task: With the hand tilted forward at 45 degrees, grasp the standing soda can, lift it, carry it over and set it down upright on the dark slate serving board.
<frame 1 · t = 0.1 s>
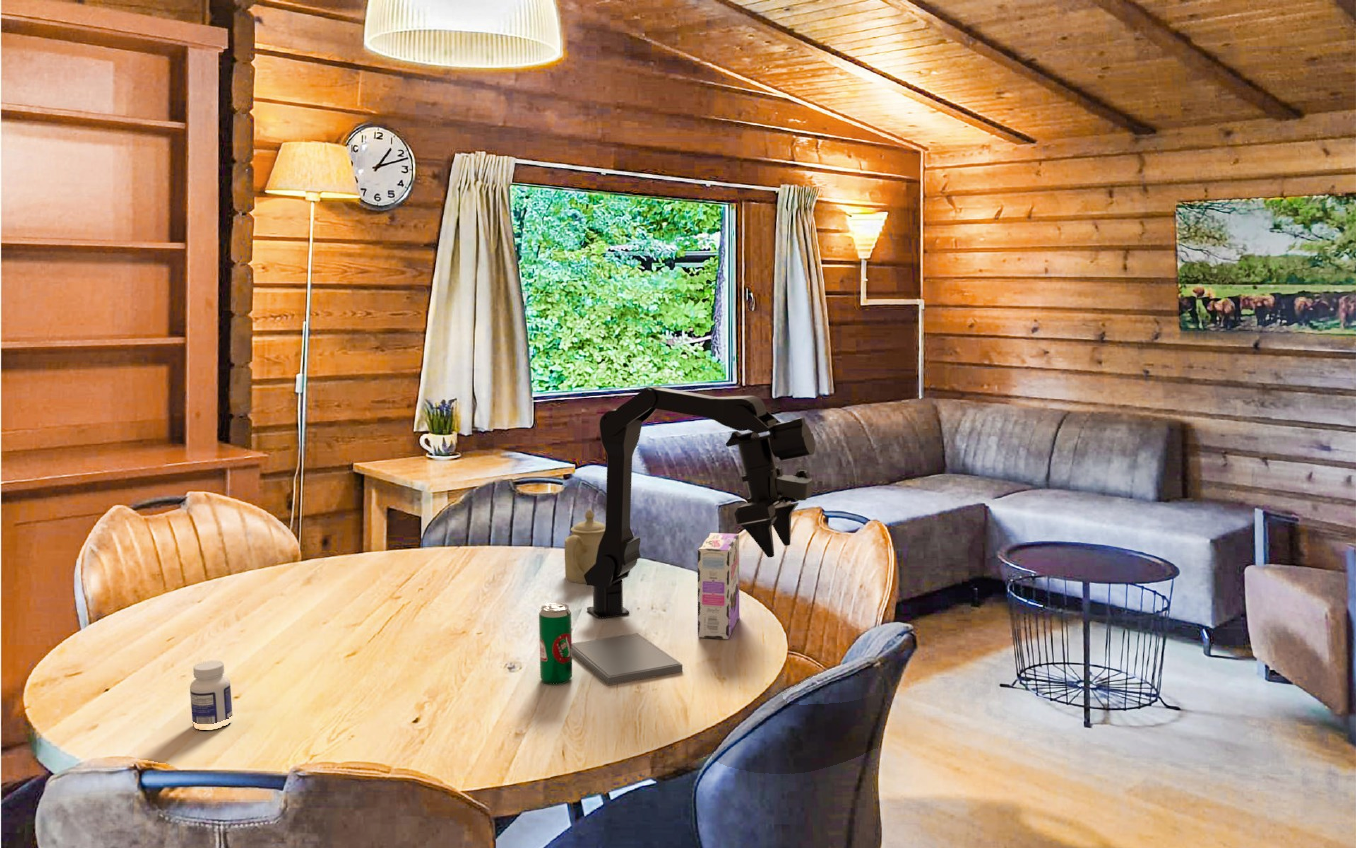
hand: (779, 551, 186), 15 cm above the table, fingers open, 9 cm apart
soda can: (556, 681, 167), on the table
pill bottle: (212, 725, 150), on the table
candy box: (719, 628, 193), on the table
sugar bowl: (591, 580, 226), on the table
slate board: (623, 660, 176), on the table
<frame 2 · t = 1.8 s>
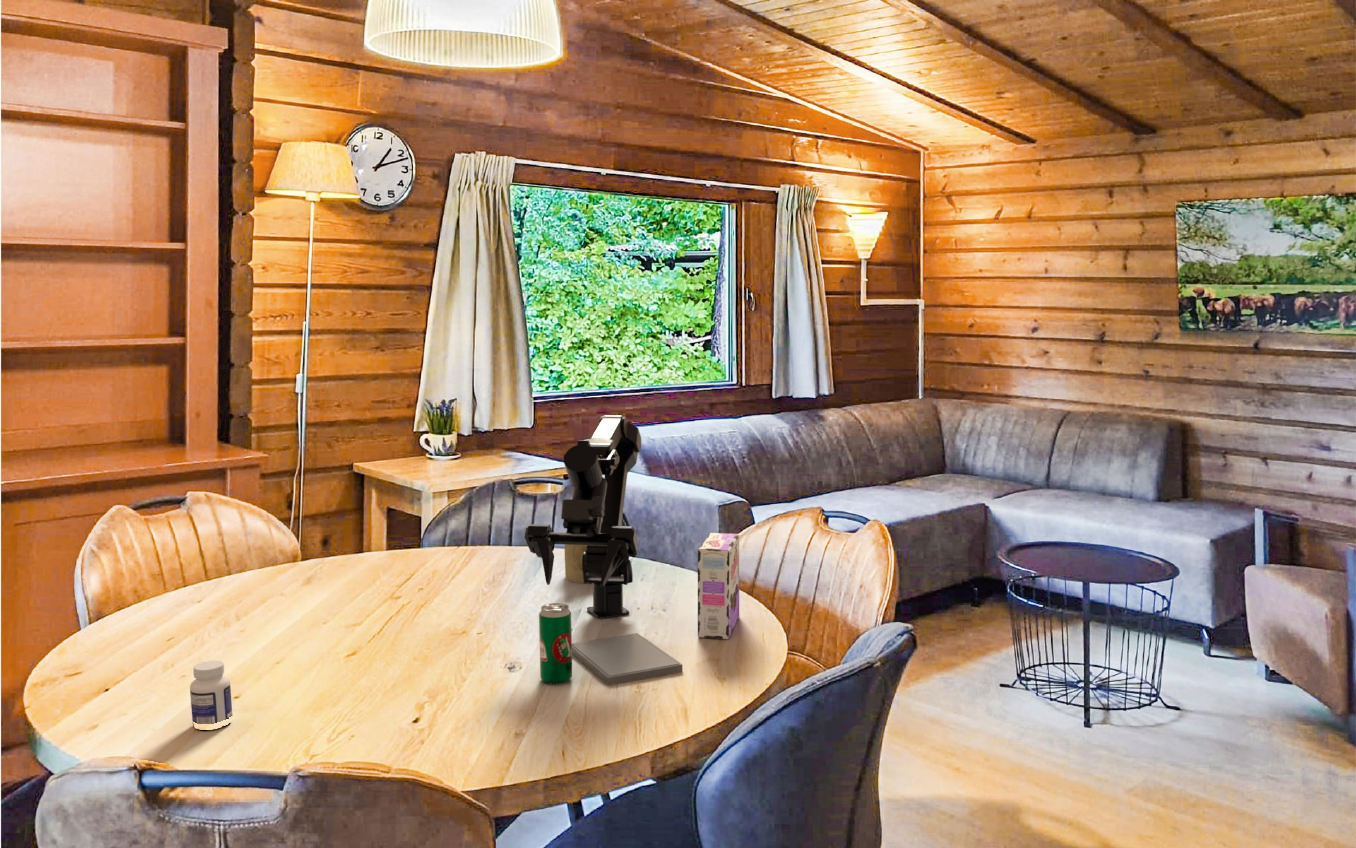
hand: (574, 584, 173), 13 cm above the table, fingers open, 9 cm apart
nothing on the table moved.
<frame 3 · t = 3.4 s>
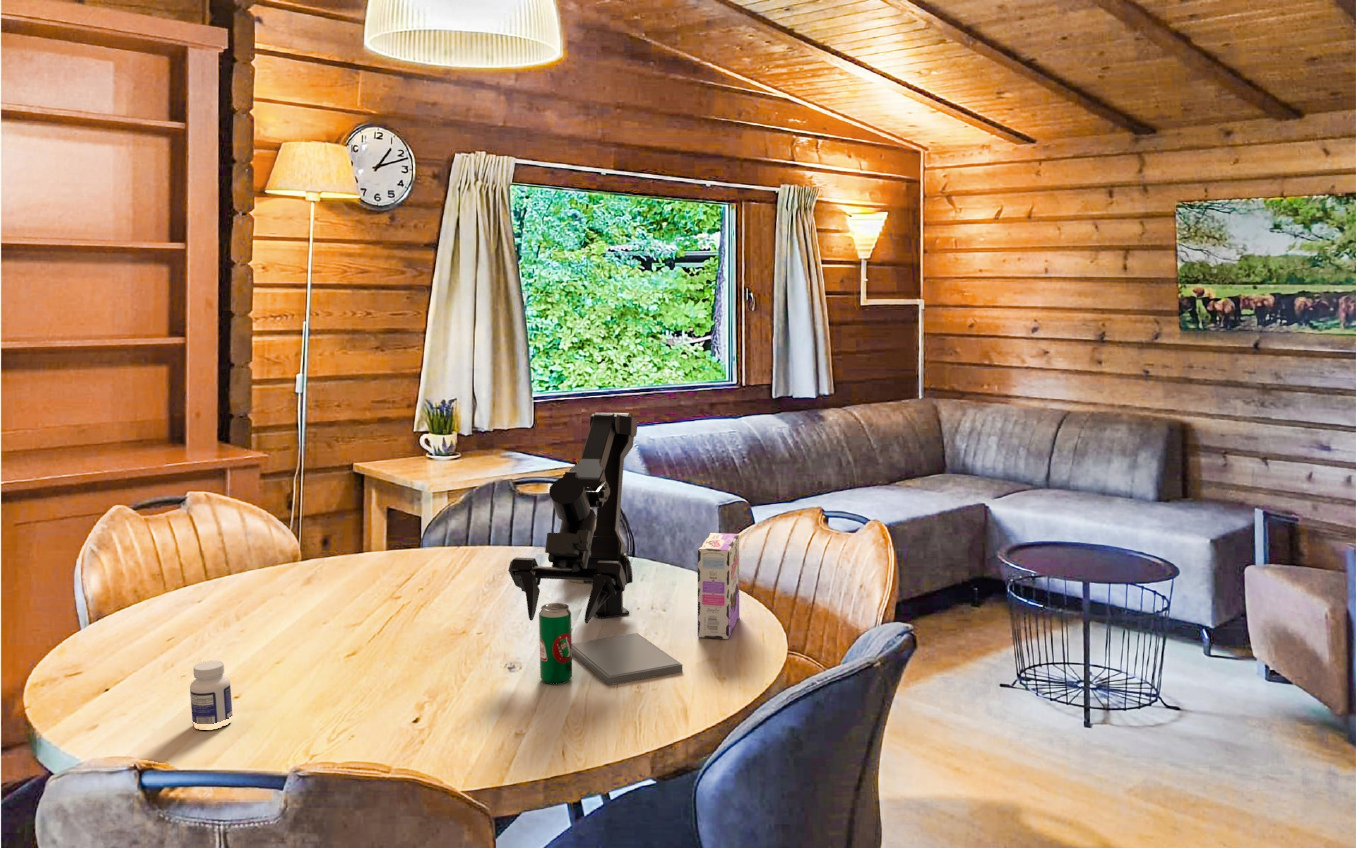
hand: (558, 620, 168), 9 cm above the table, fingers open, 9 cm apart
nothing on the table moved.
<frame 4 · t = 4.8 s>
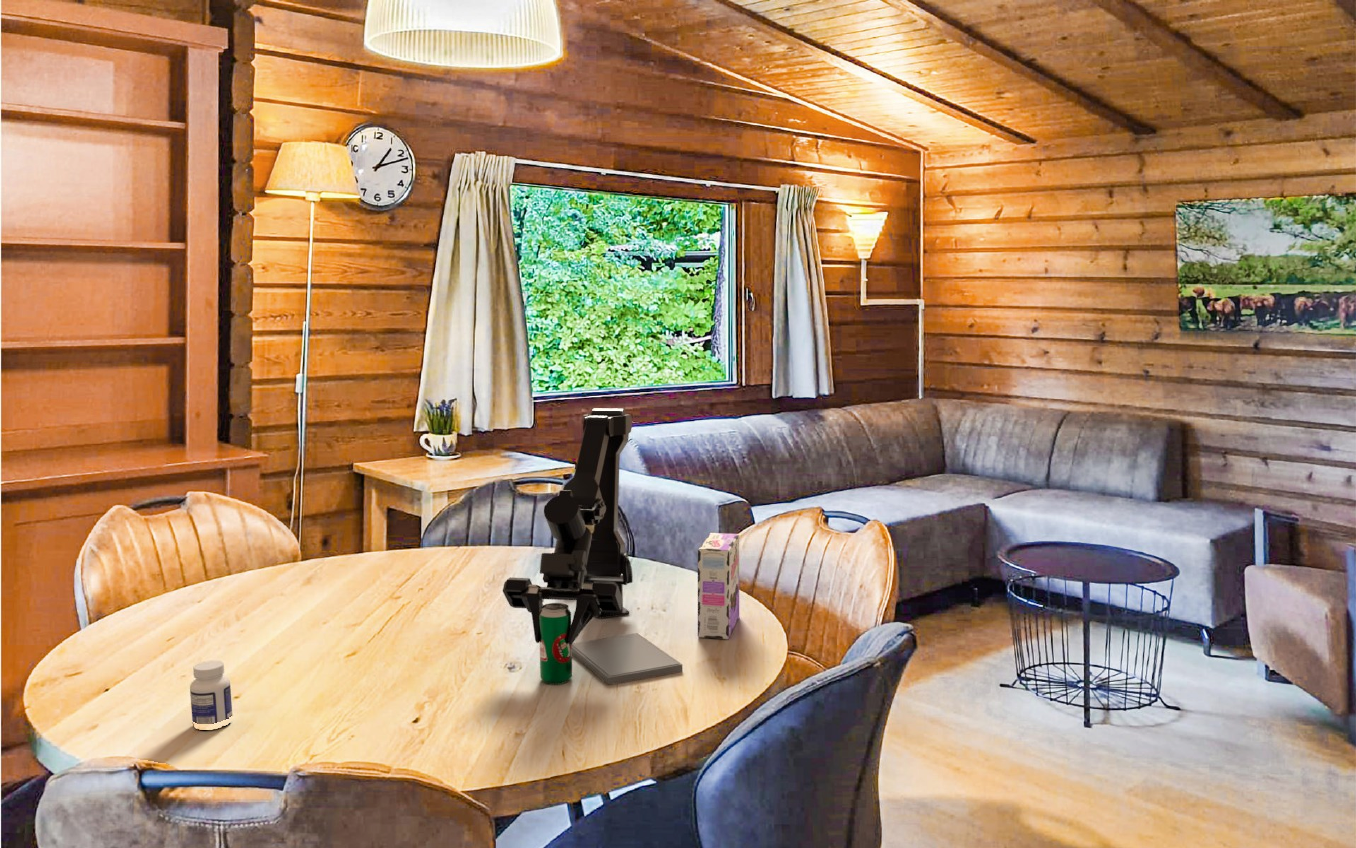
hand: (553, 642, 165), 7 cm above the table, fingers closed on soda can, 5 cm apart
soda can: (556, 680, 167), on the table, touching gripper
everything else where it was.
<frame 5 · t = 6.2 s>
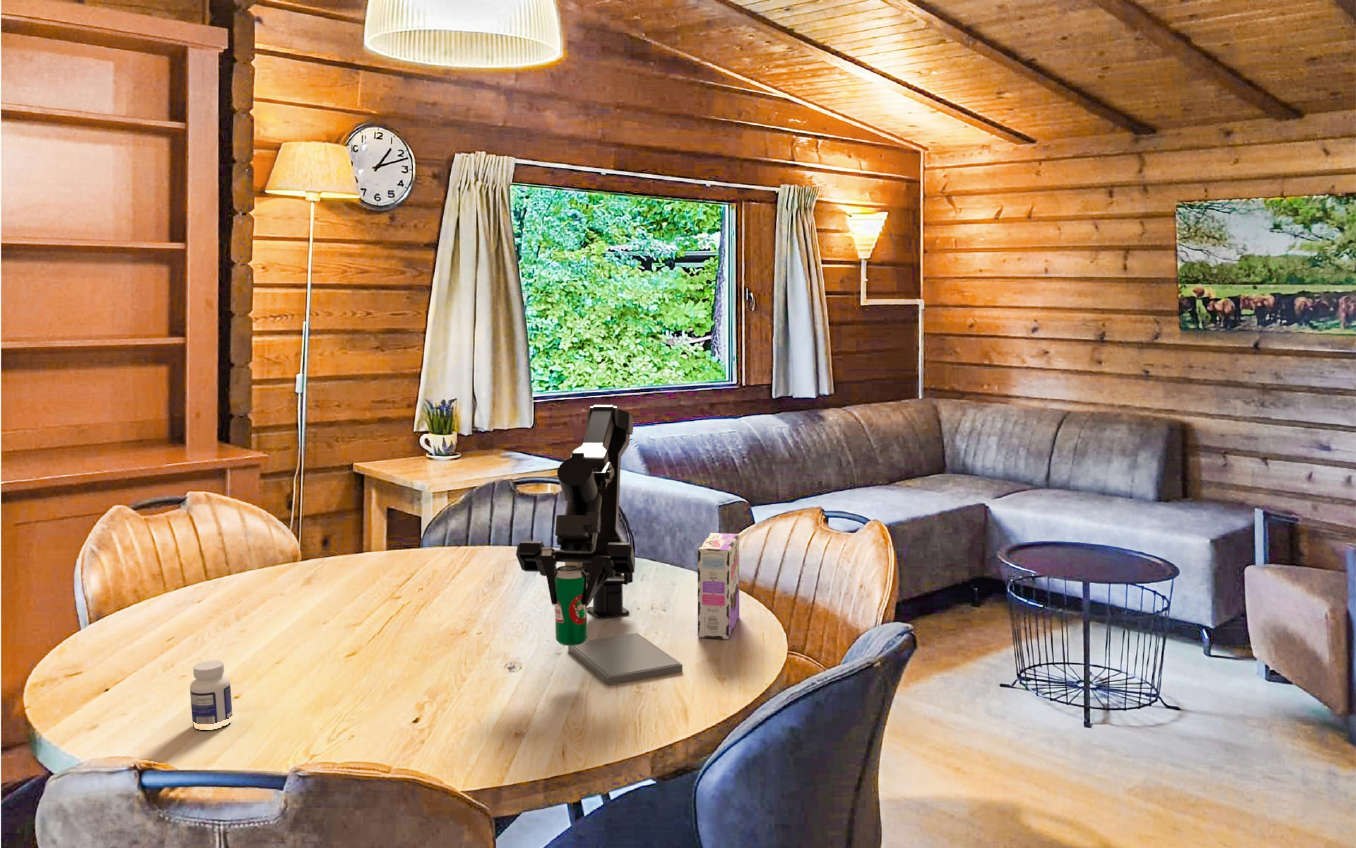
hand: (569, 604, 165), 13 cm above the table, fingers closed on soda can, 5 cm apart
soda can: (571, 642, 167), point 6 cm above the table, touching gripper
everything else where it was.
when the fingers open (9 cm above the table, at t = 7.9 s): soda can stays where it is, resting on slate board.
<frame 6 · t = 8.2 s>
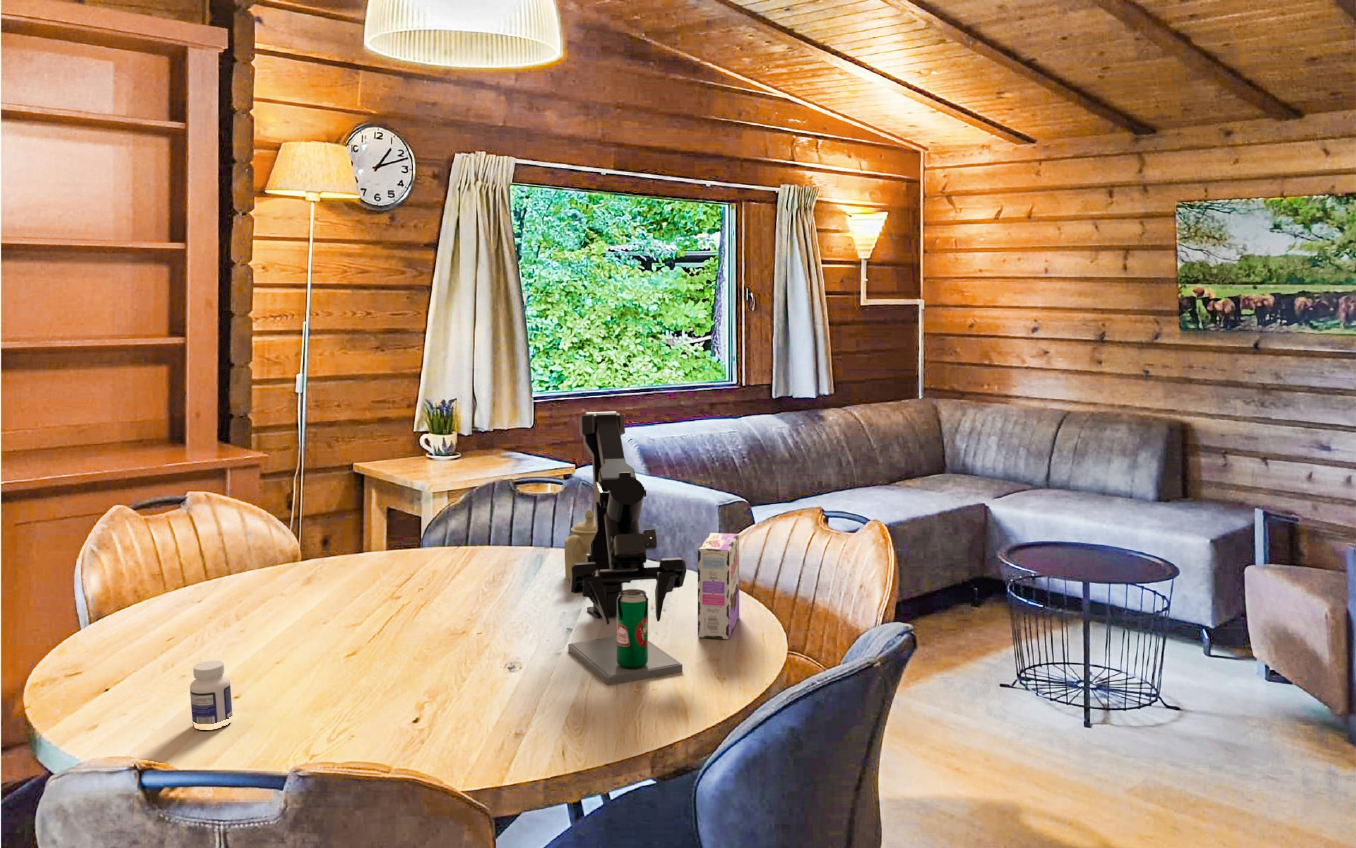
hand: (633, 621, 167), 9 cm above the table, fingers open, 8 cm apart
soda can: (632, 666, 170), point 1 cm above the table, touching slate board
everything else where it was.
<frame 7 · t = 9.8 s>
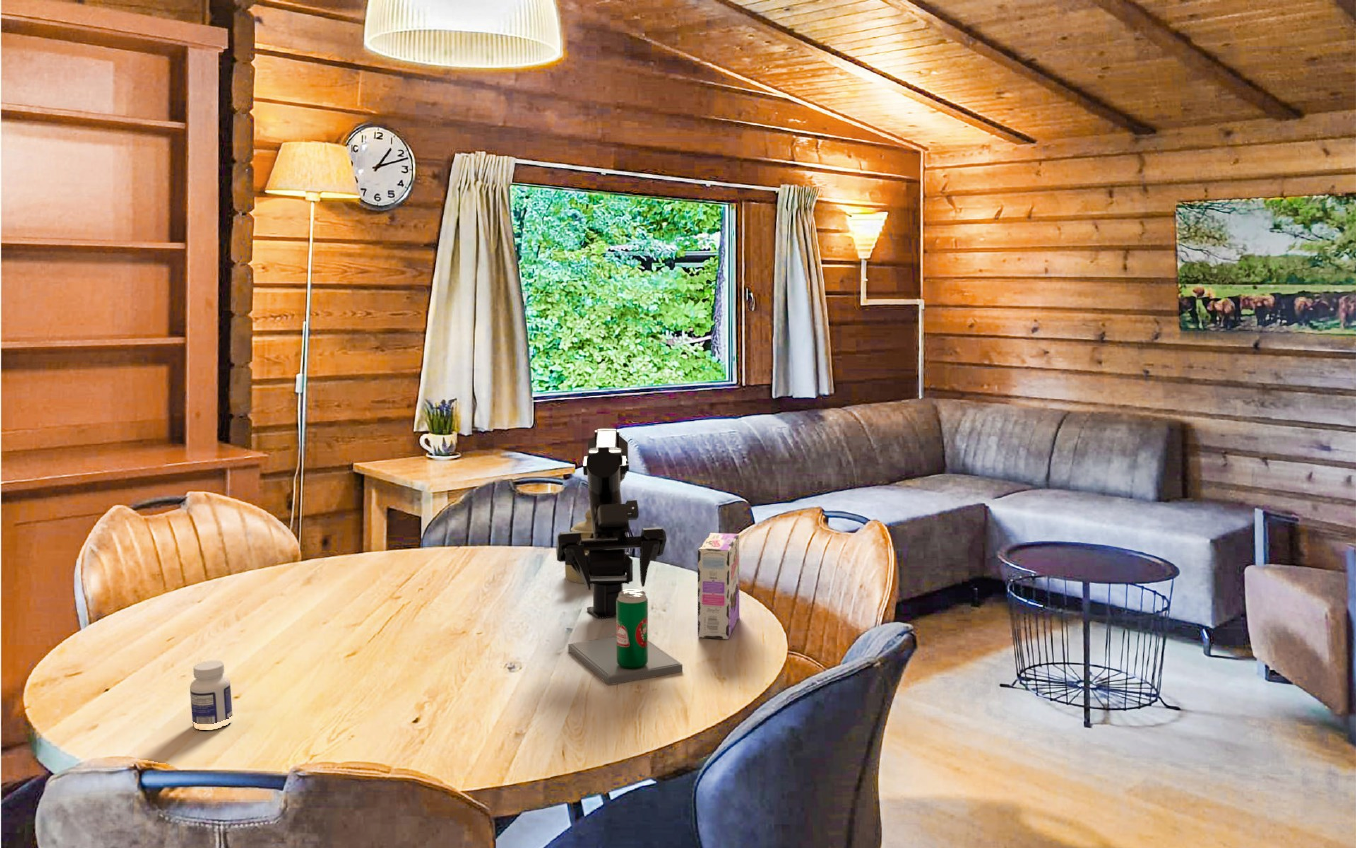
hand: (616, 587, 177), 12 cm above the table, fingers open, 9 cm apart
nothing on the table moved.
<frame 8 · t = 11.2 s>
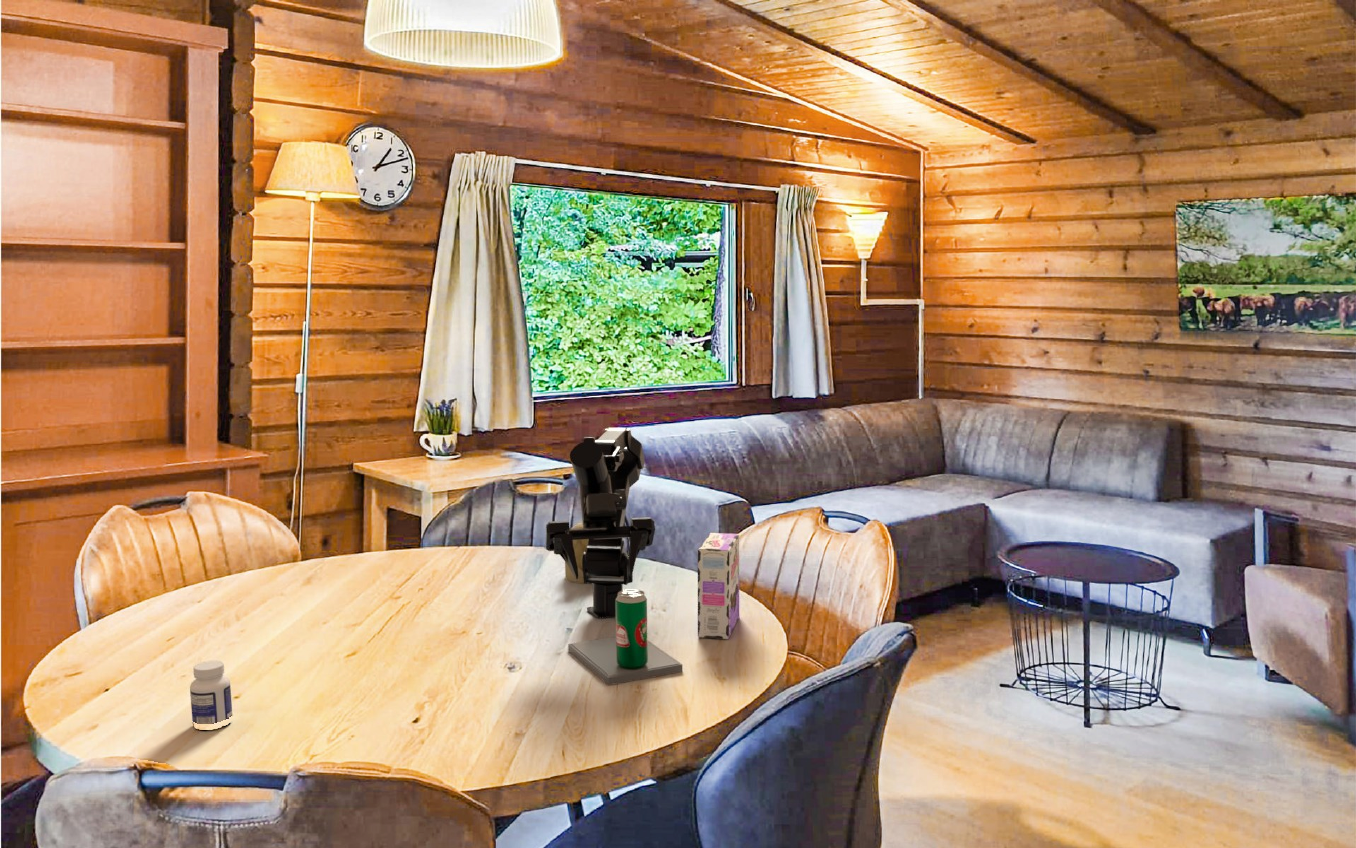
hand: (604, 576, 177), 14 cm above the table, fingers open, 9 cm apart
nothing on the table moved.
at the end: soda can inside the target area on the slate board (5.9 cm from its centre), point 1.1 cm above the slate board's base; soda can tilted 0°; the gripper is holding nothing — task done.
